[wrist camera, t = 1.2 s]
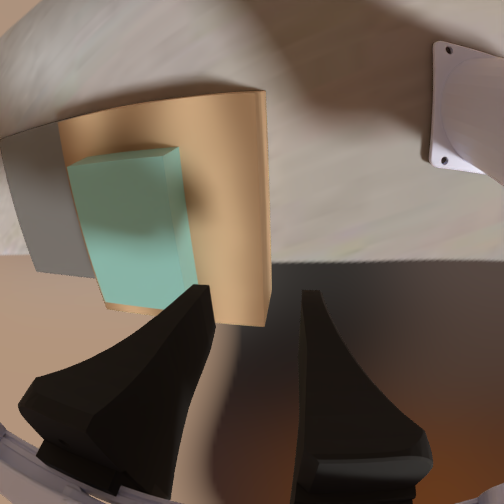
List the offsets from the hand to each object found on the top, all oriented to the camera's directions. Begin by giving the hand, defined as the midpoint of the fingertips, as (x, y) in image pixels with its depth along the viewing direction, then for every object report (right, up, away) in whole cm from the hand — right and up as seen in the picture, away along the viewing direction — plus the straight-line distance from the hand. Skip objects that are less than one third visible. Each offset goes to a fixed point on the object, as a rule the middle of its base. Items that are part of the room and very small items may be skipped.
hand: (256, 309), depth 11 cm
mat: (-17, +6, +12) cm, 21 cm away
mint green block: (-7, +4, +7) cm, 10 cm away
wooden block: (-5, +6, +10) cm, 12 cm away
